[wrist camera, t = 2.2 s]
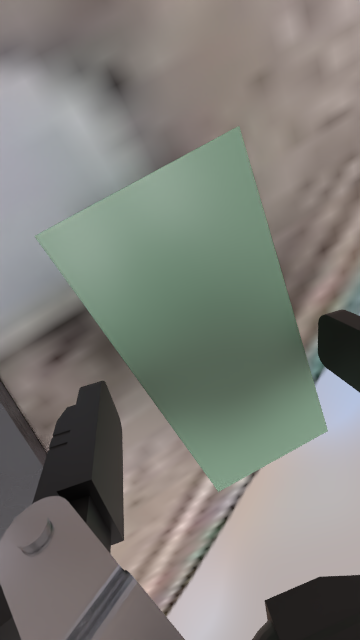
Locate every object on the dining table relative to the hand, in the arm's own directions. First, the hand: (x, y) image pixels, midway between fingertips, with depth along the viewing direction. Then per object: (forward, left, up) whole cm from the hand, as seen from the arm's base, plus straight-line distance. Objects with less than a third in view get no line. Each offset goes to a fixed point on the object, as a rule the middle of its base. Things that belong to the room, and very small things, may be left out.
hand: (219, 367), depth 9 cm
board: (0, 0, -5) cm, 5 cm away
